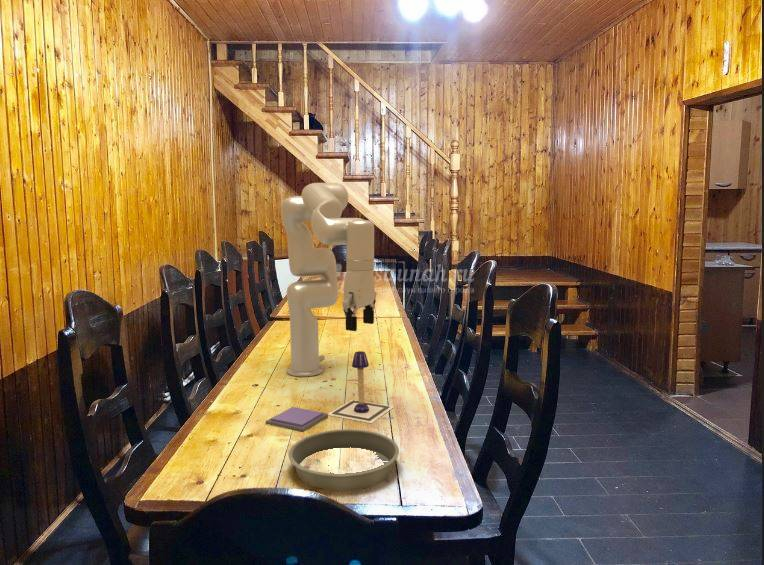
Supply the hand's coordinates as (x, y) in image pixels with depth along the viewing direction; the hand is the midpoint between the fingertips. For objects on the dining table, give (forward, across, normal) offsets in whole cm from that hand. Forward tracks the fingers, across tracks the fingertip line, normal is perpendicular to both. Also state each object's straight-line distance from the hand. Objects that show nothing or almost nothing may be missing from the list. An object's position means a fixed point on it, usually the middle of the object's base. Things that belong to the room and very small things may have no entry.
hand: (360, 326), depth 169 cm
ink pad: (+24, +14, -11) cm, 30 cm away
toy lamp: (+24, +1, 0) cm, 24 cm away
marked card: (+24, 0, +1) cm, 24 cm away
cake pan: (+24, +34, +15) cm, 44 cm away
